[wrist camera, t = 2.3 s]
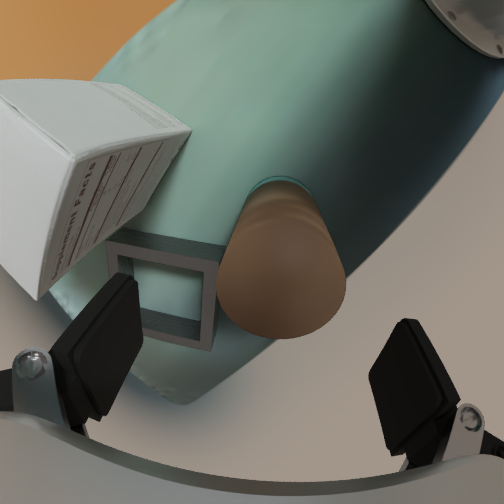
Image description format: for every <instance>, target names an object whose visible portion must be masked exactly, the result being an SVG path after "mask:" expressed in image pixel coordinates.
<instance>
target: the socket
mask: <svg viewBox="0 0 504 504" xmlns="http://www.w3.org/2000/svg"><path fill="white" fill-rule="evenodd" d="M225 248H226V246H220V245H214V244H209V243H203V242H197V241H191V240H186V239H180V238H174V237H169V236H163V235H157V234H152V233H146V232H140V231H134V230H129V229H123V228H121V229H119V230H118V231H117V232H115V233H114V234H113V235H112V236H110V237H109V238H108V239H107V240H106V250H107V260H108V268H109V276H110V279H111V278H112V276H113V275H114V274H115V273H117V272H119V273H124V274H128V275H132V276H133V278H134V273H133V259H132V258H136V259H141V260H146V261H151V262H156V263H161V264H166V265H171V266H176V267H181V268H186V269H191V270H196V271H201V272H204V279H203V294H202V311H201V322H200V321H195V320H191V319H186V318H182V317H177V316H173V315H169V314H164V313H160V312H156V311H152V310H148V309H144V308H140V313H141V322H142V331H143V335H144V336H148V337H152V338H155V339H159V340H163V341H167V342H171V343H175V344H179V345H183V346H188V347H192V348H197V349H201V350H206V351H211V350H212V346H213V342H214V339H215V335H216V330H217V320H218V310H219V300H218V297H217V292H216V277H217V273H218V270H219V267H220V264H221V262H222V259H223V256H224V254H225Z"/></svg>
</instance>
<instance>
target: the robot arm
mask: <svg viewBox="0 0 504 504" xmlns="http://www.w3.org/2000/svg"><path fill="white" fill-rule="evenodd" d="M425 1H426V3H427V4H428V5H429V7H430V8H431V9H432V10H433V12H434V13H435V14H436V15H437V16H438V18H439V19H440V20H441V21H442V22H443V23H444V24H445V25H446V26H447V27H448V28H449V29H450V30H451V31H452V32H453V33H454V34H455V35H456V36H457V37H459V38H460V39H461V40H462V41H463V42H465V43H466V44H467V45H469V46H470V47H471V48H473V49H474V50H476V51H478V52H479V53H481V54H483V55H486V56H488V57H491V58H497V59H500V58H504V0H425ZM142 344H143V331H142V322H141V313H140V303H139V291H138V282H137V281H136V280H134V278H133V276H132V275H128V274H124V273H119V272H117V273H115V274H114V275H113V276H112V278H111V279H110V280H109V281H108V282H107V283H106V284H105V285H104V286H103V287H102V288H101V289H100V291H99V292H98V293H97V294H96V295H95V296H94V297H93V298H92V300H91V301H90V302H89V303H88V304H87V305H86V306H85V308H84V309H83V310H82V311H81V312H80V313H79V315H78V316H77V317H76V318H75V319H74V320H73V322H72V323H71V324H70V325H69V326H68V328H67V329H66V330H65V331H64V333H63V334H62V335H61V336H60V337H59V339H58V340H57V341H56V342H55V344H54V345H53V346H52V348H51V349H50V351H49V352H47V351H45V350H44V349H42V348H37V347H34V348H28V349H25V350H23V351H21V352H20V353H19V354H18V355H17V356H16V357H15V359H14V361H13V365H12V368H11V369H7V370H3V371H0V504H504V442H503V441H501V440H500V439H498V438H497V437H495V436H493V435H492V434H490V433H488V432H487V431H485V430H484V426H485V421H484V417H483V415H482V413H481V411H480V410H479V409H478V408H477V407H475V406H474V405H472V404H462V405H461V406H460V407H459V408H458V409H457V406H456V405H457V403H458V402H459V401H460V400H461V399H460V397H459V395H458V393H457V391H456V389H455V387H454V385H453V383H452V380H451V378H450V377H449V375H448V373H447V371H446V369H445V367H444V365H443V363H442V361H441V359H440V358H439V356H438V354H437V352H436V350H435V349H434V347H433V345H432V343H431V341H430V340H429V338H428V336H427V335H426V333H425V331H424V330H423V328H422V326H421V325H420V323H419V321H418V320H416V319H407V318H404V319H402V320H401V321H400V322H398V323H397V324H396V326H395V328H394V329H393V332H392V333H391V335H390V337H389V339H388V340H387V342H386V344H385V346H384V348H383V349H382V351H381V353H380V354H379V356H378V358H377V359H376V361H375V363H374V364H373V366H372V368H371V369H370V372H369V382H370V385H371V389H372V392H373V396H374V400H375V403H376V407H377V411H378V415H379V419H380V423H381V426H382V431H383V435H384V439H385V443H386V447H387V449H388V450H390V453H391V456H397V455H402V454H404V453H406V456H407V457H406V459H405V461H404V463H403V465H402V467H401V468H400V470H399V472H396V473H392V474H386V475H380V476H374V477H367V478H359V479H351V480H339V481H325V482H273V481H257V480H246V479H238V478H229V477H223V476H216V475H210V474H205V473H199V472H194V471H190V470H185V469H180V468H177V467H172V466H169V465H164V464H161V463H158V462H154V461H151V460H147V459H144V458H141V457H138V456H135V455H132V454H129V453H126V452H123V451H120V450H117V449H115V448H112V447H109V446H107V445H104V444H102V443H99V442H97V441H94V440H92V439H90V438H89V435H88V433H87V429H86V426H85V423H86V421H87V419H88V417H89V418H92V419H94V420H96V421H99V422H100V420H101V418H102V416H106V415H107V414H108V413H109V411H110V409H111V406H112V405H113V402H114V400H115V398H116V396H117V394H118V392H119V390H120V388H121V386H122V384H123V382H124V380H125V378H126V376H127V374H128V372H129V370H130V368H131V366H132V364H133V362H134V360H135V358H136V356H137V354H138V353H139V351H140V349H141V347H142Z"/></svg>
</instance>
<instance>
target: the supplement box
mask: <svg viewBox="0 0 504 504" xmlns="http://www.w3.org/2000/svg"><path fill="white" fill-rule="evenodd" d="M191 132H192V129H191V128H189V127H188V126H186V125H185V124H183V123H182V122H181V121H179V120H178V119H176V118H175V117H173V116H172V115H170V114H169V113H167V112H166V111H164V110H163V109H161V108H159V107H158V106H156V105H155V104H153V103H151V102H150V101H148V100H147V99H145V98H143V97H142V96H140V95H138V94H137V93H135V92H133V91H132V90H130V89H128V88H127V87H125V86H123V85H118V84H110V83H102V82H91V81H79V80H63V79H13V80H0V264H1V265H2V266H3V267H4V268H5V270H6V271H7V272H8V273H9V274H10V275H11V276H12V277H13V278H14V279H15V280H16V281H17V282H18V283H19V284H20V285H21V286H22V287H23V289H24V290H25V291H26V292H28V293H29V294H30V295H31V296H32V297H33V298H34V299H35V300H36V301H37V300H39V299H40V298H41V297H42V296H43V295H44V294H45V293H46V292H47V291H48V290H49V289H50V288H51V287H52V286H53V285H54V284H55V283H56V282H57V281H58V280H59V279H60V278H61V277H62V276H63V275H64V274H66V273H67V272H68V271H69V270H70V269H71V268H72V267H73V266H74V265H75V264H77V263H78V262H79V261H80V260H81V259H82V258H83V257H84V256H85V255H87V254H88V253H89V252H90V251H91V250H92V249H93V248H94V247H96V246H97V245H98V244H100V243H101V242H102V241H103V240H104V239H106V238H107V237H108V236H109V235H111V234H112V233H113V232H114V231H116V230H117V229H118V228H120V227H121V226H122V225H123V224H125V223H126V222H127V221H128V220H130V219H131V218H133V217H134V216H135V215H137V214H138V213H139V212H141V211H142V210H143V209H144V208H145V206H146V204H147V203H148V201H149V199H150V197H151V195H152V194H153V192H154V190H155V188H156V187H157V185H158V183H159V182H160V180H161V178H162V177H163V175H164V173H165V172H166V170H167V169H168V167H169V165H170V164H171V162H172V161H173V159H174V158H175V156H176V154H177V153H178V151H179V150H180V148H181V147H182V145H183V144H184V142H185V141H186V139H187V138H188V136H189V135H190V133H191Z"/></svg>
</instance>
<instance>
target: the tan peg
mask: <svg viewBox="0 0 504 504" xmlns="http://www.w3.org/2000/svg"><path fill="white" fill-rule="evenodd" d="M345 291H346V276H345V272H344V269H343V266H342V263H341V261H340V258H339V256H338V253H337V251H336V248H335V246H334V244H333V241H332V239H331V236H330V234H329V232H328V230H327V227H326V225H325V223H324V220H323V218H322V216H321V214H320V211H319V209H318V207H317V205H316V203H315V200H314V198H313V196H312V194H311V193H310V191H309V190H308V188H307V187H306V186H305V185H304V184H302V183H301V182H299V181H298V180H296V179H293V178H291V177H287V176H273V177H269V178H266V179H264V180H262V181H261V182H259V183H258V184H256V185H255V186H254V187H253V188H252V190H251V191H250V193H249V195H248V197H247V199H246V202H245V204H244V206H243V209H242V211H241V214H240V216H239V219H238V221H237V224H236V226H235V229H234V231H233V234H232V236H231V239H230V241H229V244H228V246H227V249H226V251H225V254H224V256H223V259H222V262H221V264H220V267H219V270H218V273H217V277H216V292H217V297H218V300H219V303H220V305H221V307H222V309H223V310H224V312H225V313H226V315H227V316H228V317H229V318H230V319H231V320H232V321H233V322H234V323H235V324H237V325H238V326H239V327H241V328H242V329H244V330H246V331H248V332H250V333H252V334H254V335H258V336H261V337H265V338H271V339H289V338H296V337H300V336H304V335H307V334H309V333H312V332H314V331H315V330H317V329H319V328H321V327H322V326H324V325H325V324H326V323H327V322H328V321H330V320H331V318H333V316H334V315H335V314H336V313H337V311H338V310H339V308H340V306H341V304H342V302H343V299H344V296H345Z"/></svg>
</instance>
